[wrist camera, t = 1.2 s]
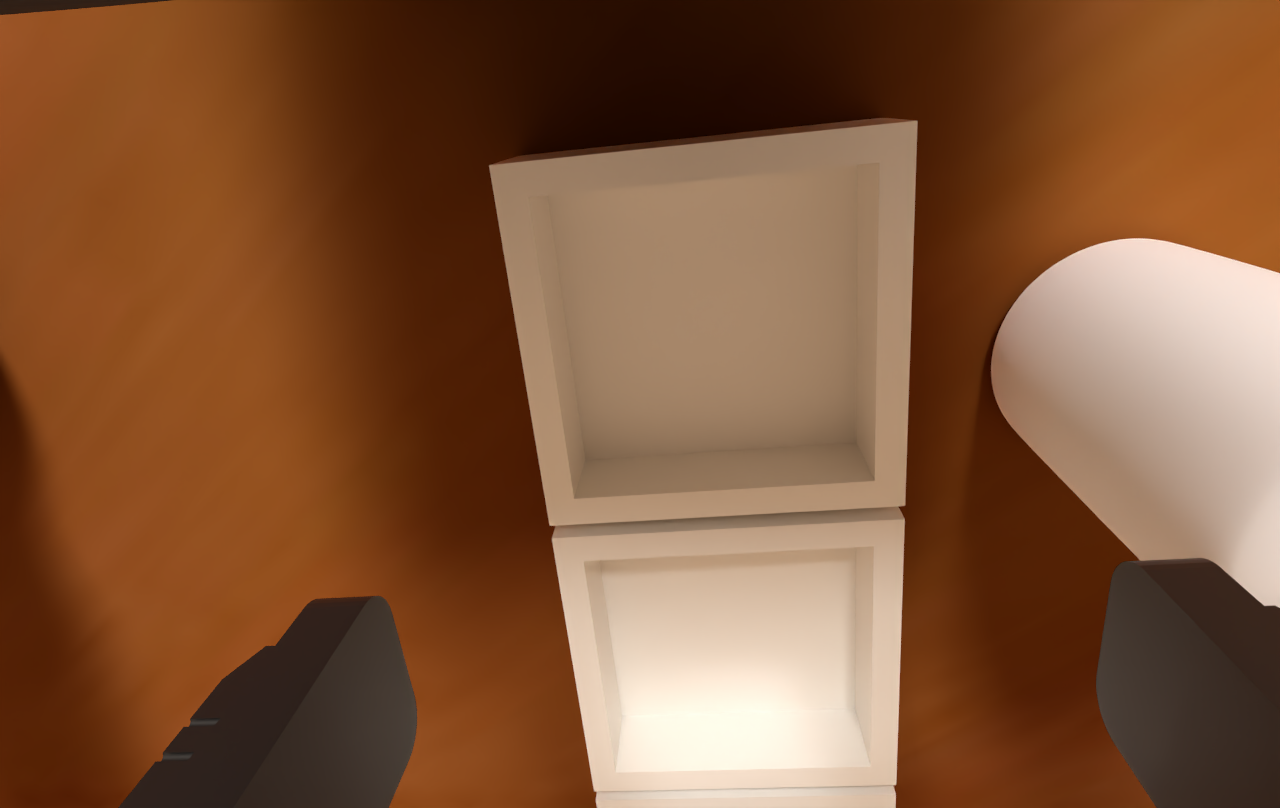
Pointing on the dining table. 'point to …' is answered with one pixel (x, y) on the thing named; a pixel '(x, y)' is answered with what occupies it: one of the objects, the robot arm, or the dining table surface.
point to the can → (1156, 399)
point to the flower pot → (58, 5)
